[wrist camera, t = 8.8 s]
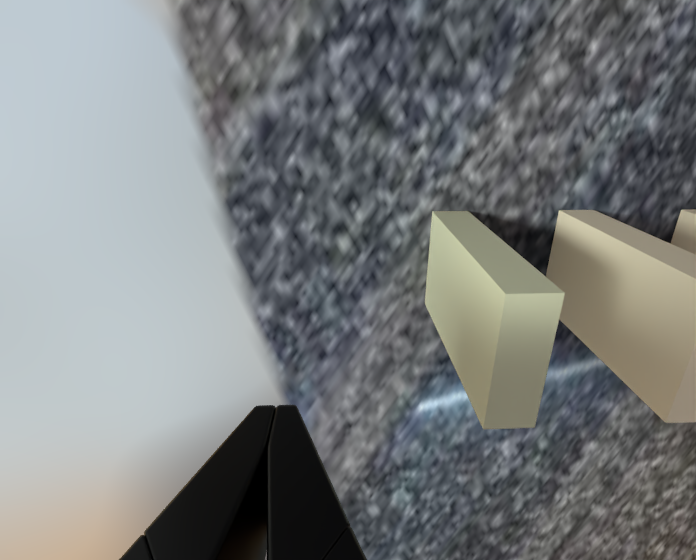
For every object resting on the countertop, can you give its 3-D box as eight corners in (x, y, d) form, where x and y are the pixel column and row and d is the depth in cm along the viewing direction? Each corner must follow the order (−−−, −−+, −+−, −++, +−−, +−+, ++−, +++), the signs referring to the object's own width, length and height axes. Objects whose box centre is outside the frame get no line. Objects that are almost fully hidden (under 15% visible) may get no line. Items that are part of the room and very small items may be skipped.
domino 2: (572, 300, 19) (714, 421, 12) (540, 301, 19) (665, 422, 12) (593, 210, 17) (772, 288, 10) (559, 210, 17) (716, 289, 10)
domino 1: (457, 302, 18) (534, 427, 12) (424, 303, 18) (483, 429, 12) (468, 211, 17) (565, 292, 10) (432, 211, 17) (505, 293, 10)
